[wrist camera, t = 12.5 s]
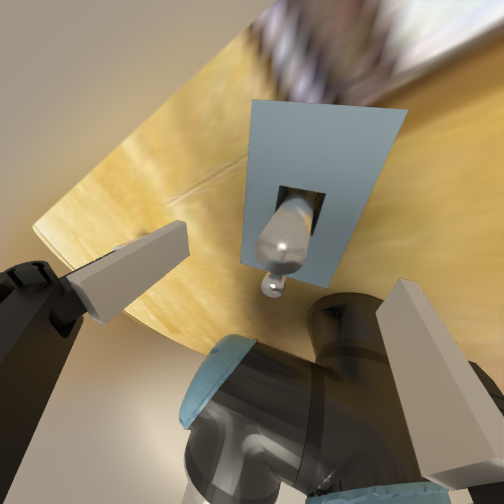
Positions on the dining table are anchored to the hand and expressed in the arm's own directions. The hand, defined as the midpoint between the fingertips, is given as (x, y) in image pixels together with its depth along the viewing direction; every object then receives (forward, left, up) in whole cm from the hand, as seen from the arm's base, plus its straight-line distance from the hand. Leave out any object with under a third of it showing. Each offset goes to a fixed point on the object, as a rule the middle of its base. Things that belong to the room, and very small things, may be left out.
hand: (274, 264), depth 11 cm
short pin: (-13, +1, -17) cm, 21 cm away
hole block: (0, 0, -17) cm, 17 cm away
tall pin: (0, 0, -17) cm, 17 cm away
